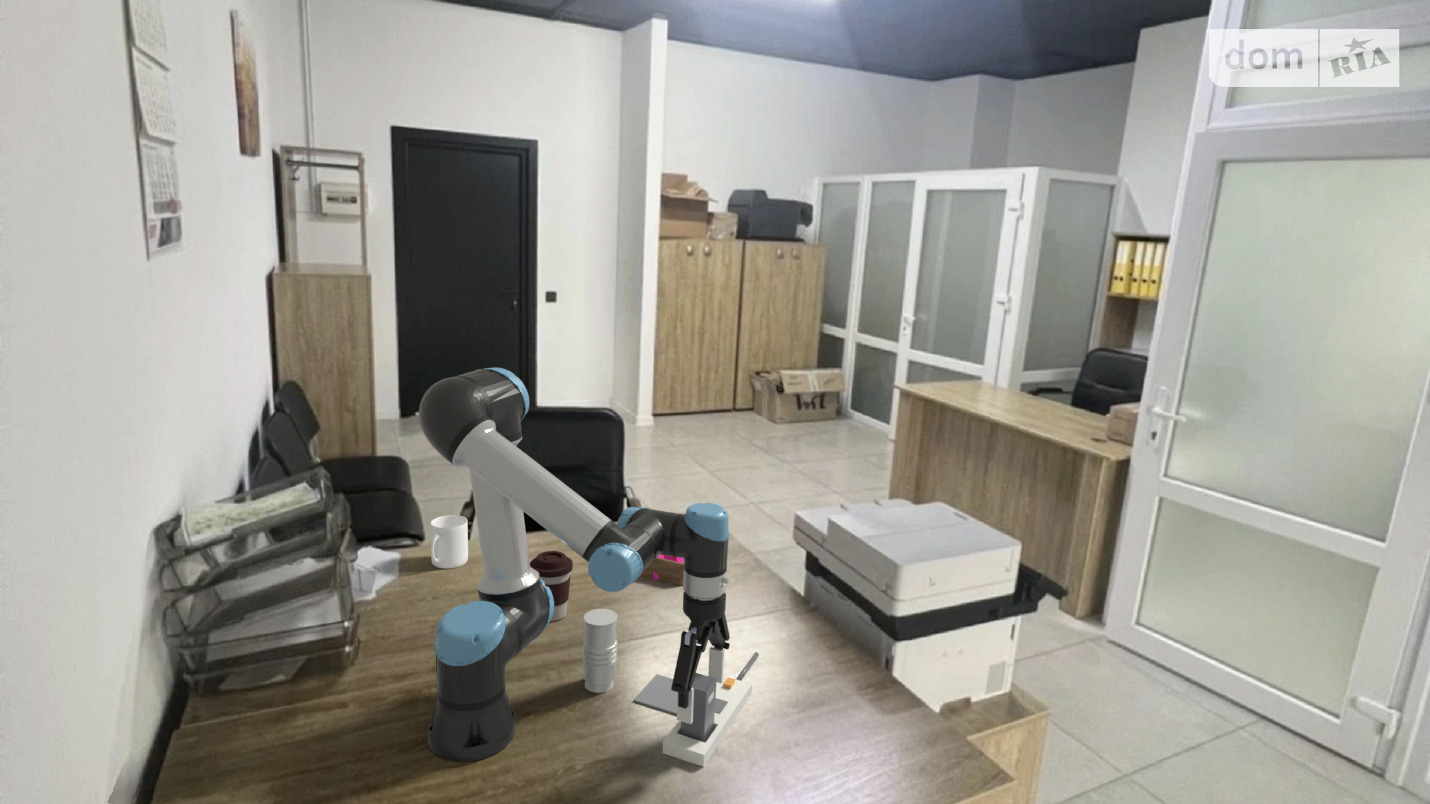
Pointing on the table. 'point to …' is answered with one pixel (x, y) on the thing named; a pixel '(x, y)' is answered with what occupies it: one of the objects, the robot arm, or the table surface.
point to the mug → (449, 541)
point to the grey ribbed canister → (600, 650)
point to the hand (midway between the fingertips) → (700, 700)
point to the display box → (666, 571)
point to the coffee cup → (555, 578)
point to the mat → (659, 695)
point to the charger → (702, 709)
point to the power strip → (727, 708)
